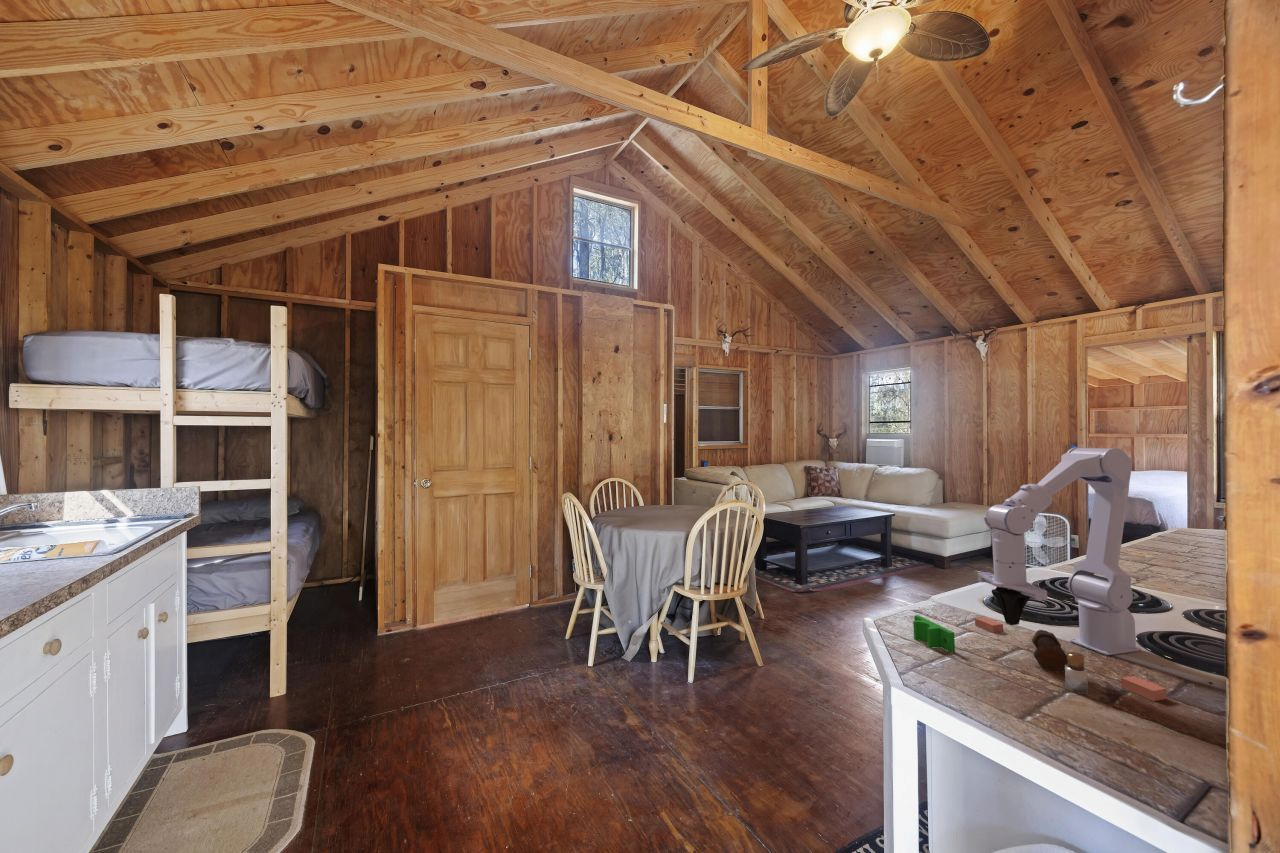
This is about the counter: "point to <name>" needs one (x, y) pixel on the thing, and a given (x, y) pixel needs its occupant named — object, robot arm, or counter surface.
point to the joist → (989, 624)
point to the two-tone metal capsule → (1076, 673)
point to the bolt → (1049, 652)
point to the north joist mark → (1144, 688)
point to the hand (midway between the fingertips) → (1012, 623)
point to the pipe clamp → (933, 634)
